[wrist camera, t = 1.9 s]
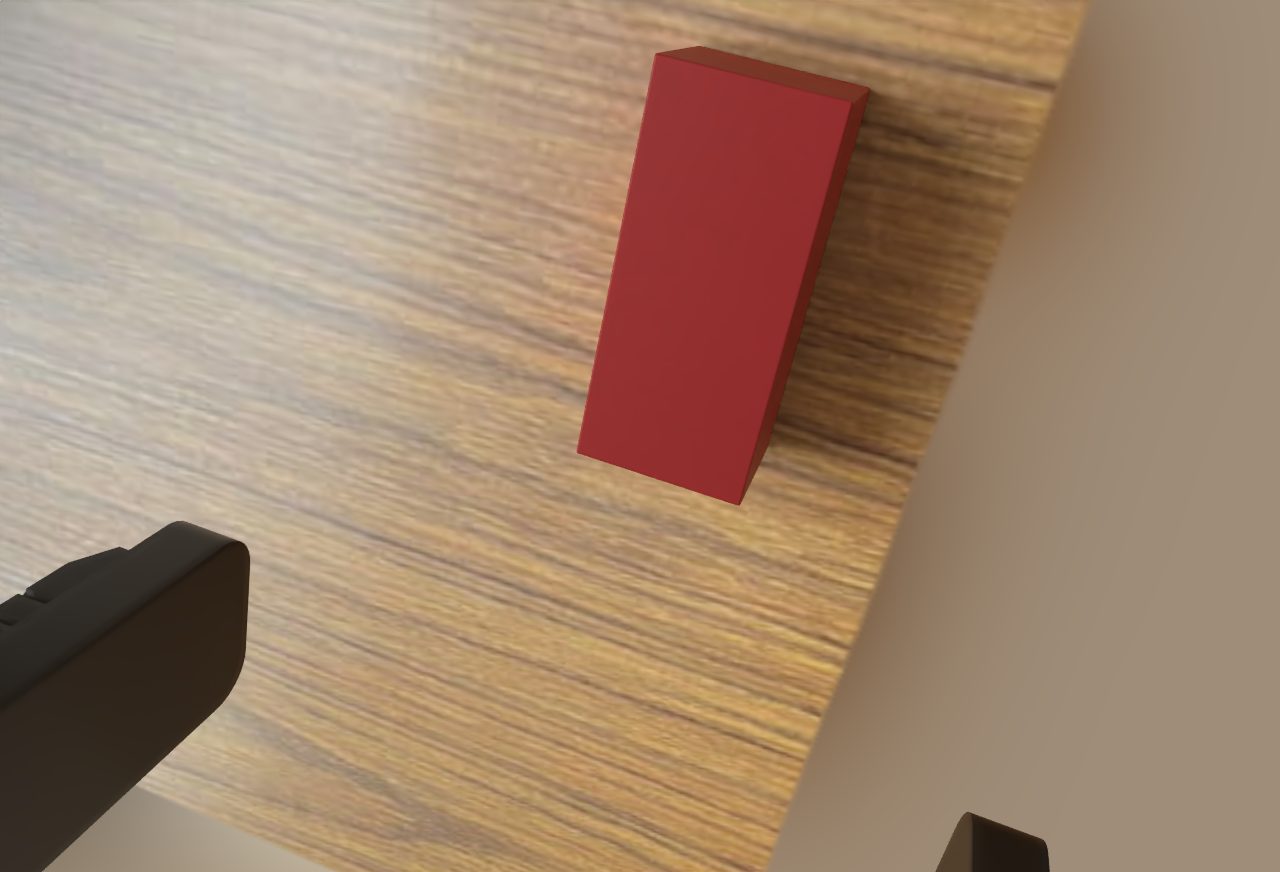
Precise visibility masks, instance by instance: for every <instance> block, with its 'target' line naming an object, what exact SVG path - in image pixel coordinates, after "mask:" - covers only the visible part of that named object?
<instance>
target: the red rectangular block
mask: <svg viewBox="0 0 1280 872" xmlns="http://www.w3.org/2000/svg"><path fill="white" fill-rule="evenodd" d="M869 93H870V88H868V87H864V86H860V85H856V84H852V83H848V82H844V81H840V80H835V79H831V78H827V77H823V76H819V75H815V74H811V73H807V72H803V71H799V70H795V69H791V68H787V67H783V66H779V65H775V64H771V63H767V62H762V61H758V60H754V59H750V58H746V57H742V56H738V55H734V54H730V53H726V52H722V51H718V50H714V49H710V48H706V47H702V46H696V47H690V48H684V49H679V50H673V51H667V52H661V53H656V54H655V58H654V63H653V68H652V73H651V78H650V83H649V88H648V93H647V98H646V104H645V109H644V114H643V119H642V124H641V129H640V134H639V139H638V144H637V149H636V154H635V159H634V164H633V169H632V174H631V179H630V184H629V189H628V194H627V200H626V205H625V210H624V215H623V220H622V225H621V230H620V235H619V240H618V245H617V250H616V255H615V260H614V265H613V270H612V275H611V280H610V285H609V290H608V296H607V301H606V306H605V311H604V316H603V321H602V326H601V331H600V336H599V341H598V346H597V351H596V356H595V361H594V366H593V371H592V376H591V381H590V386H589V392H588V397H587V402H586V407H585V412H584V417H583V422H582V427H581V432H580V437H579V442H578V447H577V453H579V454H582V455H585V456H588V457H591V458H594V459H597V460H600V461H603V462H606V463H610V464H613V465H616V466H619V467H622V468H625V469H628V470H631V471H634V472H637V473H640V474H643V475H646V476H649V477H652V478H655V479H658V480H661V481H665V482H668V483H671V484H674V485H677V486H680V487H683V488H686V489H689V490H692V491H695V492H698V493H701V494H704V495H707V496H710V497H713V498H716V499H720V500H723V501H726V502H729V503H732V504H735V505H740V504H741V502H742V500H743V498H744V496H745V494H746V492H747V489H748V487H749V485H750V483H751V481H752V479H753V477H754V475H755V473H756V471H757V469H758V466H759V464H760V462H761V460H762V458H763V456H764V454H765V452H766V450H767V448H768V444H769V441H770V437H771V434H772V430H773V427H774V424H775V420H776V417H777V413H778V410H779V406H780V403H781V399H782V396H783V392H784V389H785V385H786V382H787V378H788V375H789V371H790V368H791V364H792V361H793V357H794V354H795V350H796V347H797V343H798V340H799V336H800V333H801V329H802V326H803V323H804V319H805V316H806V312H807V309H808V305H809V302H810V298H811V295H812V291H813V288H814V284H815V281H816V277H817V274H818V270H819V267H820V263H821V260H822V256H823V253H824V249H825V246H826V242H827V239H828V235H829V232H830V228H831V225H832V222H833V218H834V215H835V211H836V208H837V204H838V201H839V197H840V194H841V190H842V187H843V183H844V180H845V176H846V173H847V169H848V166H849V162H850V159H851V155H852V152H853V148H854V145H855V141H856V138H857V134H858V131H859V127H860V124H861V121H862V117H863V114H864V110H865V107H866V103H867V100H868V96H869Z"/></svg>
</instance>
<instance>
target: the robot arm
mask: <svg viewBox="0 0 1280 872" xmlns="http://www.w3.org/2000/svg"><path fill="white" fill-rule="evenodd" d="M249 575H250V555H249V551H248V548H247V547H246V545H245V544H244V543H242V542H240V541H237V540H235V539H232V538H229V537H227V536H224V535H221V534H218V533H216V532H213V531H210V530H207V529H205V528H202V527H199V526H197V525H194V524H191V523H188V522H185V521H176V522H173V523H171V524H169V525H167V526H166V527H164V528H162V529H161V530H159V531H158V532H156V533H155V534H153V535H152V536H150V537H149V538H147V539H145V540H144V541H142V542H141V543H139V544H138V545H136V546H135V547H133V548H132V549H130V550H127V549H124V548H121V547H117V548H114V549H111V550H108V551H105V552H101V553H98V554H95V555H92V556H89V557H85V558H82V559H79V560H76V561H73V562H69V563H67V564H65V565H64V566H62V567H61V568H59V569H57V570H56V571H54V572H52V573H51V574H49V575H48V576H46V577H44V578H43V579H41V580H39V581H38V582H36V583H35V584H33V585H31V586H30V587H28V588H27V589H26V592H25V593H24V595H20V594H17V595H15V596H14V597H12V598H10V599H9V600H7V601H5V602H4V603H2V604H1V605H0V872H42V871H43V870H44V869H45V868H46V867H47V866H48V865H49V864H51V863H52V862H53V861H54V860H55V859H56V858H57V857H58V856H59V855H60V854H61V853H62V852H63V851H64V850H66V849H67V848H68V847H69V846H70V845H71V844H72V843H73V842H74V841H75V840H76V839H77V838H79V837H80V836H81V835H82V834H83V833H84V832H85V831H86V830H87V829H88V828H89V827H90V826H91V825H93V824H94V823H95V822H96V821H97V820H98V819H99V818H100V817H101V816H102V815H103V814H104V813H105V812H106V811H107V810H109V809H110V808H111V807H112V806H113V805H114V804H115V803H116V802H117V801H118V800H119V799H120V798H122V796H124V795H125V794H126V793H127V792H128V791H129V790H130V789H131V788H132V787H133V786H134V785H136V784H137V783H138V782H139V781H140V780H141V779H142V778H143V777H144V776H145V775H146V774H147V773H148V772H150V771H151V770H152V769H153V768H154V767H155V766H156V765H157V764H158V763H159V762H160V761H161V760H162V759H164V758H165V757H166V756H167V755H168V754H169V753H170V752H171V751H172V750H173V749H174V748H175V747H176V746H178V745H179V744H180V743H181V742H182V741H183V740H184V739H185V738H186V737H187V736H188V735H189V734H190V733H192V732H193V731H194V730H195V729H196V728H197V727H198V726H199V725H200V724H201V723H202V722H203V721H204V720H206V719H207V718H208V717H209V716H210V715H211V714H212V713H213V712H214V711H215V710H216V709H217V708H218V707H219V706H220V705H221V704H222V703H223V702H224V700H225V699H226V698H227V696H228V695H229V694H230V692H231V690H232V689H233V687H234V685H235V683H236V681H237V679H238V677H239V675H240V672H241V669H242V666H243V663H244V658H245V652H246V634H247V614H248V595H249ZM936 872H1050V870H1049V857H1048V849H1047V845H1046V843H1045V841H1044V840H1042V839H1040V838H1038V837H1035V836H1032V835H1029V834H1027V833H1024V832H1021V831H1019V830H1016V829H1013V828H1010V827H1008V826H1005V825H1002V824H1000V823H997V822H994V821H991V820H988V819H986V818H983V817H980V816H978V815H975V814H972V813H970V812H966V813H965V814H964V815H963V816H962V818H961V819H960V821H959V823H958V824H957V827H956V828H955V830H954V833H953V835H952V837H951V839H950V841H949V844H948V846H947V848H946V850H945V852H944V854H943V857H942V859H941V861H940V863H939V865H938V867H937V870H936Z"/></svg>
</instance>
